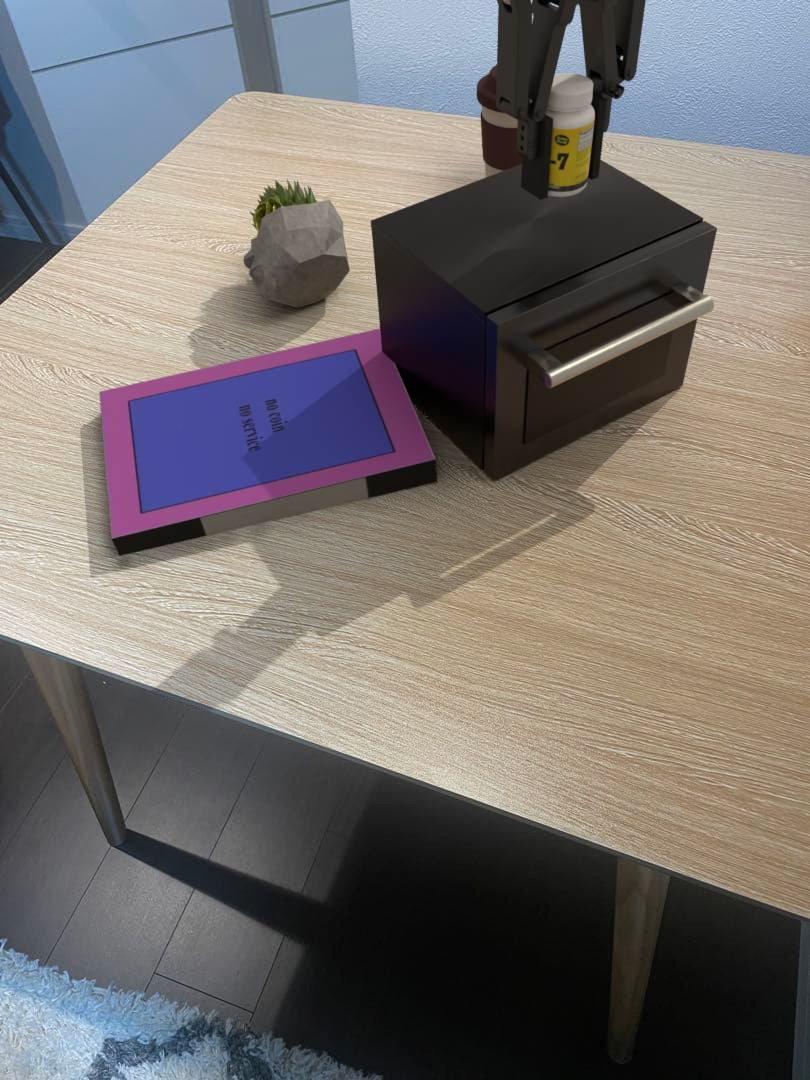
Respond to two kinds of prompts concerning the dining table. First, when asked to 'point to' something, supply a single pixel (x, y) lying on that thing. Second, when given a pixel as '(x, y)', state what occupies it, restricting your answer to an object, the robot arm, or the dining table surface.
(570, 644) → the dining table surface
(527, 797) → the dining table surface
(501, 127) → the coffee cup
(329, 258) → the potted plant
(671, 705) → the dining table surface
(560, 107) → the supplement bottle
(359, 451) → the book
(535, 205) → the oven
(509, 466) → the oven door
